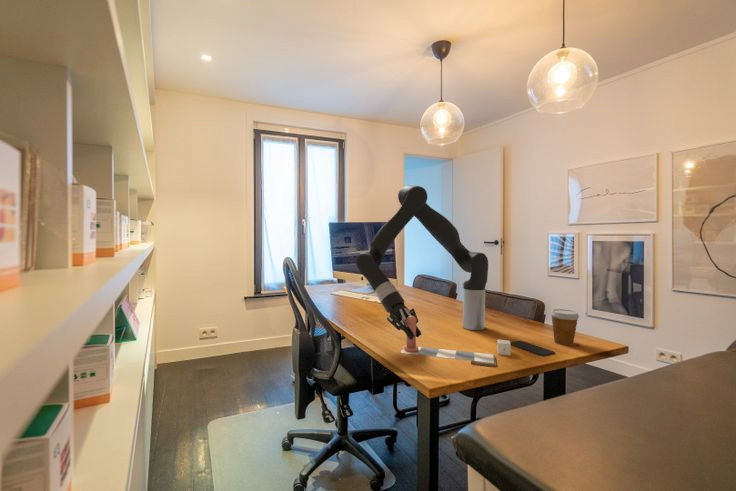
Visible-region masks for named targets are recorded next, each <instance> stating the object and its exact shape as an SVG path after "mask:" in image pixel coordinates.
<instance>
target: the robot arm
mask: <svg viewBox="0 0 736 491" xmlns="http://www.w3.org/2000/svg"><path fill="white" fill-rule="evenodd" d="M397 196H398V197H397V199H398V202H399V203H400V205H401V206H400V208H399V209H398V211H397V212H396V213H395V214H394V215H393V216H392V217H391V218H390V219H389V220H388V221H387V222H386V223H385V224H383V225H382V226H381V228H380V229H379V230H378V231H377V232H376V234H375V235H374V237H373V238H372V240H371V242H370V244H369V245H370V249H369V251H368V252H365V251H363V252H359V253H358V254H357V255H356V257H355V266H356V268H357V269H358V271H359V272H360V273H361V275H362V276H363V277H364V278H365V279H366V281H368V284H369V285H370V287H371V288H372V290H373V292H374V293H375V295H376V297H377V299H378V301H379V302H380V303H381V305H382V307H383V308H384V310H385V311H386V312H387V314H389V315H388V317H386V320H387V322H389V323H390V324H391V325H392V326H393V327H394V328H395V329H396V330H397V331H402V332H404V333H405V335H406V337H407V336H408V338H409V339H410V340H411V339H413V338H414V337H415V335H414V333H413V332H412V330H411V329H410V328H409V327H408V324H407V318H408V317H409V316H414V317H415V318H416V338H419V337H420V336H421V335H422V332H421V330H420V328H419V327H418V326H417V324H418V323H419V319H418V316H417V312H416V310H415V309H414V308H411V309H409V308H408V307H407V306H406V305H405V300H404V298H403V296H402V294H400V292H399V291H398V290H397V288H396V286H395V285H394V284H393V282H391V280H390V278H389V277H388V276H387V275H386V273H385V272H384V271H383V270H381V268H380V265H381V264H382V262H383V259H384V257H385V254H386V253H387V251H388V249H389V248H390V247H391V245H392V244H393V242H395V240H396V238H397V237H398V235H399V234H400V233H401V231H403V229H404V228H405V227H406V226H407V225H408V223H409V222H410V221H411V220H412V219H413V218H414V217H415V218H416V219H417V220H418V222H420V224H421V225H422V226H423V227H424V228H425V229H426V231H428V232H429V234H430V235H431V236H432V237H433V239H435V241H437V243H439V244H440V245H441V246H442V247H443V248H444V249H445V251H446V252H448V253H449V254H450V255H451V257H452V258H453V259H454V261H456V263H457V264H458V266H459V267H460V268H461V270H463V271H464V272H466V273H469V274H470V277H469V279H468V280H465V281H464V282H463V284H462V286H463V288H462V292H463V294H462V296H463V297H462V298H463V299H462V328H464V329H466V330H469V331H482V330H485V323H486V322H485V321H486V320H485V318H486V285H487V283H488V276H489V260H488V257H487V255H486V254H485V253H484V252H479V251H478V252H477V251H475V252H474V251H471V250H469V249H467V247H465V245H463V243H462V242H461V239H460V234H459V231H458V229H457V228H456V227H455V225H453V223H452V222H451V221H450V220H449V219H448V218H447V217H445V216H444V215H442V214H441V213H440V212H439V211H437V210H435V209H434V208H433V207H431V206H430V205H429V204H428V203H427V201H428V193H427V190H426V189H425V188H424V187H422V186H419V185H404V186H403V187H402V188H401V187H400V189H399V191H398V194H397Z"/></svg>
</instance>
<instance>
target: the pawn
mask: <svg viewBox="0 0 736 491" xmlns="http://www.w3.org/2000/svg"><path fill="white" fill-rule="evenodd" d="M407 324H408V327H409V328H410V329H411V330H412V332H413V333H414V335H415V337H414V338H413V339H411V340H410V339H409V338H408V336H407V335H406V344H405V345H404V346H403V348H404V350H405V351H407V352H417V351H418V347H419V346H418V345H417V337H416V325H417V324H416V318H415V317H414V316H409V317H408V318H407Z"/></svg>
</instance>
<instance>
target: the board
mask: <svg viewBox="0 0 736 491" xmlns="http://www.w3.org/2000/svg"><path fill="white" fill-rule="evenodd" d="M400 354H408V355H409V354H410V355H415V356H416V355H417V356H426V357H427V356H428V357H435V358H444V359H445V358H446V359H453V360H463V361H470V364H471V365H476V366H485V367H492V368H493V367H495V368H496V367H497V360H496V356H495V354H494V353H493V354H492V353H482V352H473V351H463V350H456V349H455V350H453V349H452V350H451V349H444V348H443V349H442V348H434V347H433V348H432V347H423V346H418V351H417V352H407V351H405V350H404V347H402V349H401V351H400Z"/></svg>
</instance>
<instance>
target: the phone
mask: <svg viewBox="0 0 736 491" xmlns="http://www.w3.org/2000/svg"><path fill="white" fill-rule="evenodd" d="M510 344H511V347H515V348H516V349H520V350H523V351H525V352H529V353H531V354H534V355H536V356H540V357H546V356H551V355H555V354H556V352H555V351H554V350H551V349H547V348H545V347H542V346H539V345H535V344H533V343H530V342H527V341H524V340H516V341H515V340H514V341H510Z"/></svg>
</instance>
